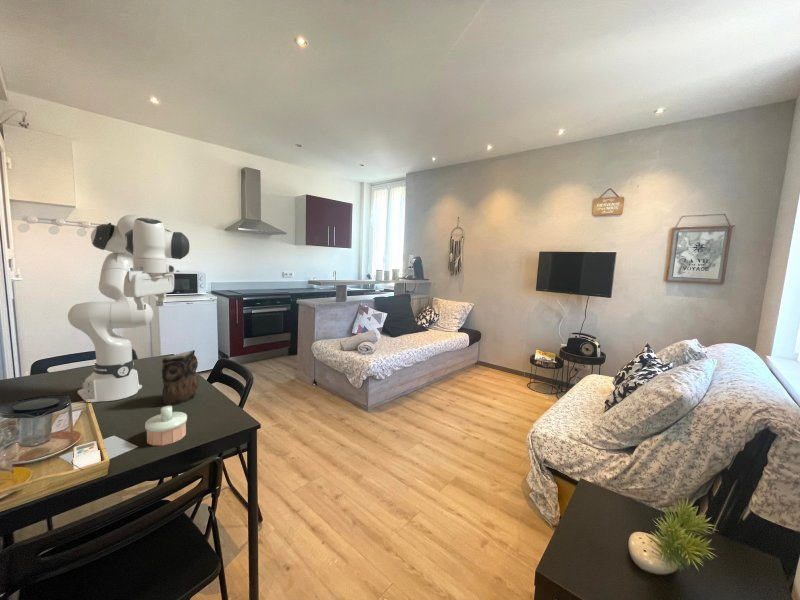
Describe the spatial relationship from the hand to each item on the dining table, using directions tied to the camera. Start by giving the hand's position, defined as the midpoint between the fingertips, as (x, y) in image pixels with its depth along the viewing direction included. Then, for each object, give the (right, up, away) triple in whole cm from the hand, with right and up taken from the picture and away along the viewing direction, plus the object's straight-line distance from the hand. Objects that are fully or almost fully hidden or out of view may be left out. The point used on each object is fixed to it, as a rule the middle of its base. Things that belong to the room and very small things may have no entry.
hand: (151, 307), depth 109 cm
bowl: (+9, -42, -5) cm, 44 cm away
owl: (-7, -39, +24) cm, 46 cm away
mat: (-4, -43, -14) cm, 45 cm away
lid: (+9, -37, -5) cm, 39 cm away
